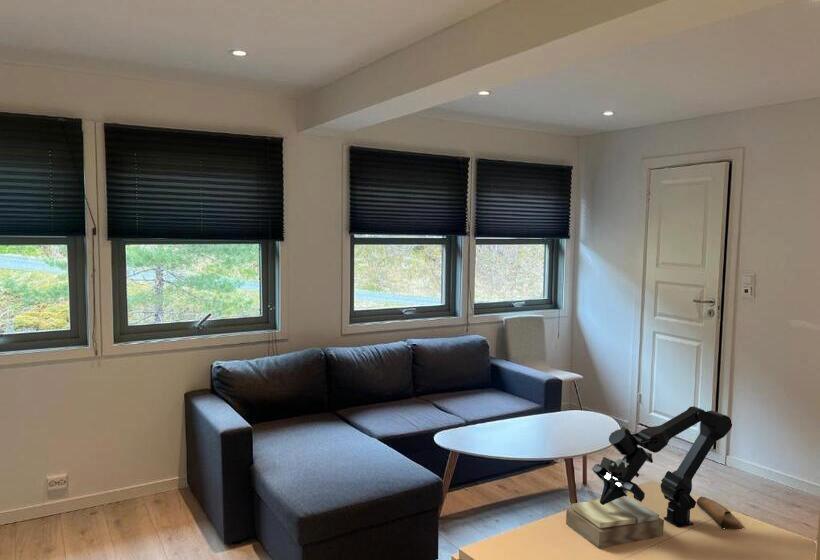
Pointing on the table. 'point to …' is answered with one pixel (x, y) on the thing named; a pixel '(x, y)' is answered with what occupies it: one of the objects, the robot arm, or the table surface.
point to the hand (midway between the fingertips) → (601, 503)
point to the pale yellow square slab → (603, 514)
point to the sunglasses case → (719, 514)
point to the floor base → (643, 529)
